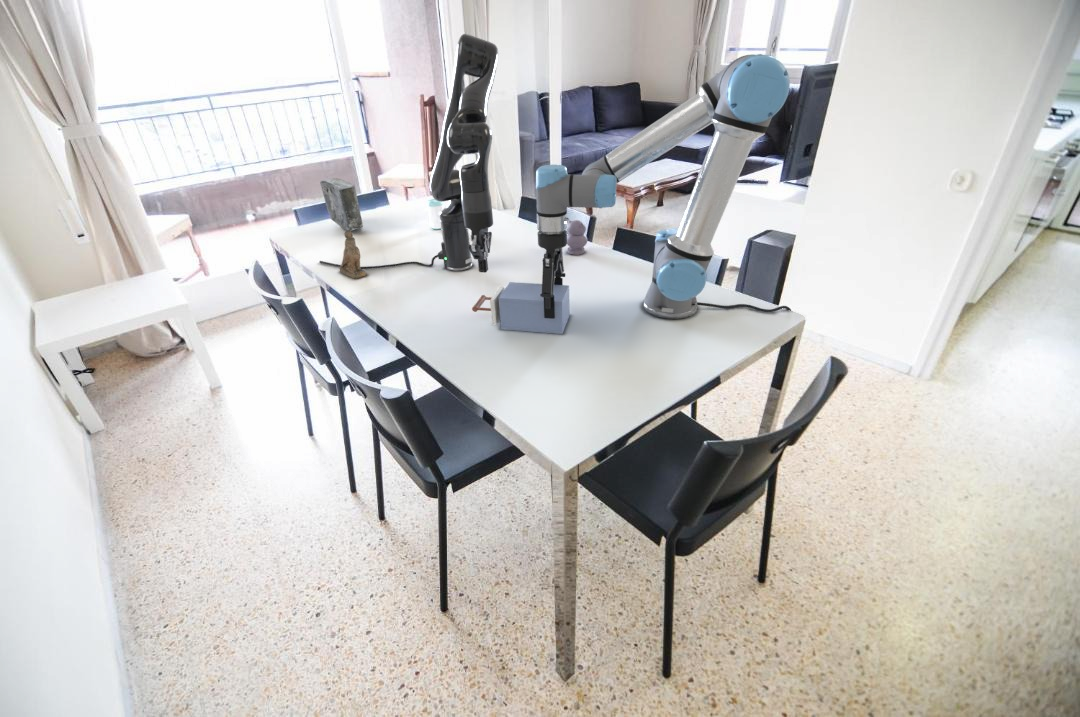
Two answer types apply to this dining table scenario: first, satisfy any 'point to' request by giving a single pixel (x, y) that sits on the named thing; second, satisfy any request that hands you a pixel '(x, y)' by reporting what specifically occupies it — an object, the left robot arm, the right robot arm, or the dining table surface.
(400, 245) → the dining table surface
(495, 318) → the drawer
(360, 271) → the worn brown figurine
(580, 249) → the lavender rounded piece
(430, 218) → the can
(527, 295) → the cabinet
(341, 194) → the concrete block
